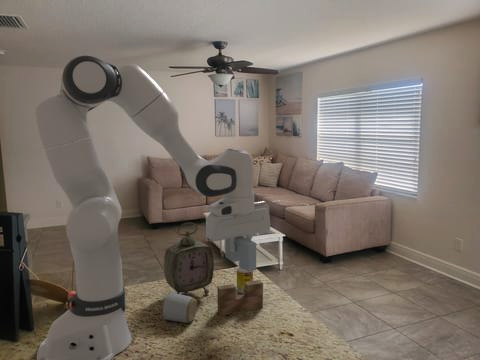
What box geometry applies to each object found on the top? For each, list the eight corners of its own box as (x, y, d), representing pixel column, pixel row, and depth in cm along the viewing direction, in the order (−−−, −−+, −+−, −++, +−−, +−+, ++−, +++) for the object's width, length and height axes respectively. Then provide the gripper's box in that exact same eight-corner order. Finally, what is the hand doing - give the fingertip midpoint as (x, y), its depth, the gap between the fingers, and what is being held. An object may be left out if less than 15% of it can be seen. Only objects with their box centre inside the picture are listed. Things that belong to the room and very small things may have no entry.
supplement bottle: (244, 295, 127) (244, 266, 126) (233, 290, 131) (233, 261, 130) (256, 290, 131) (256, 262, 130) (244, 285, 135) (244, 257, 133)
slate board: (225, 257, 119) (224, 232, 118) (232, 255, 120) (231, 231, 119) (248, 271, 107) (248, 244, 106) (256, 270, 108) (256, 242, 107)
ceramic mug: (188, 328, 107) (188, 302, 106) (162, 324, 109) (161, 298, 108) (202, 311, 117) (202, 287, 116) (177, 307, 119) (177, 284, 118)
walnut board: (220, 314, 114) (219, 289, 113) (217, 311, 117) (217, 286, 116) (262, 307, 119) (263, 282, 118) (259, 303, 121) (259, 279, 120)
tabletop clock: (173, 306, 120) (171, 229, 116) (162, 295, 127) (160, 222, 124) (214, 295, 128) (213, 222, 124) (201, 285, 135) (200, 216, 131)
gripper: (263, 198, 119) (263, 241, 121) (203, 206, 109) (204, 253, 111) (274, 202, 113) (274, 247, 116) (212, 211, 103) (213, 259, 105)
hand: (239, 250), depth 113 cm, fingers closed on slate board, 2 cm apart
